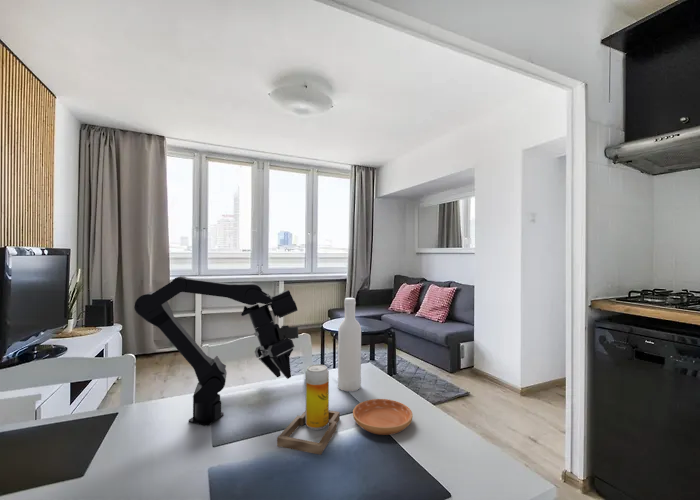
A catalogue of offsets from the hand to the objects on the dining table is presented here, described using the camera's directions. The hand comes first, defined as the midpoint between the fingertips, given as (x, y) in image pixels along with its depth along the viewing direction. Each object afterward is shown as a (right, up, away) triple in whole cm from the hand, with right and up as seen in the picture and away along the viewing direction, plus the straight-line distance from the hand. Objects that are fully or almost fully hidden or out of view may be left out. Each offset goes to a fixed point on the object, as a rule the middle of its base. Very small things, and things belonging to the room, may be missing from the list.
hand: (283, 377), depth 91 cm
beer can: (+10, -11, -5) cm, 15 cm away
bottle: (+18, -11, +19) cm, 29 cm away
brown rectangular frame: (+9, -10, -8) cm, 16 cm away
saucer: (+27, -11, -3) cm, 30 cm away
